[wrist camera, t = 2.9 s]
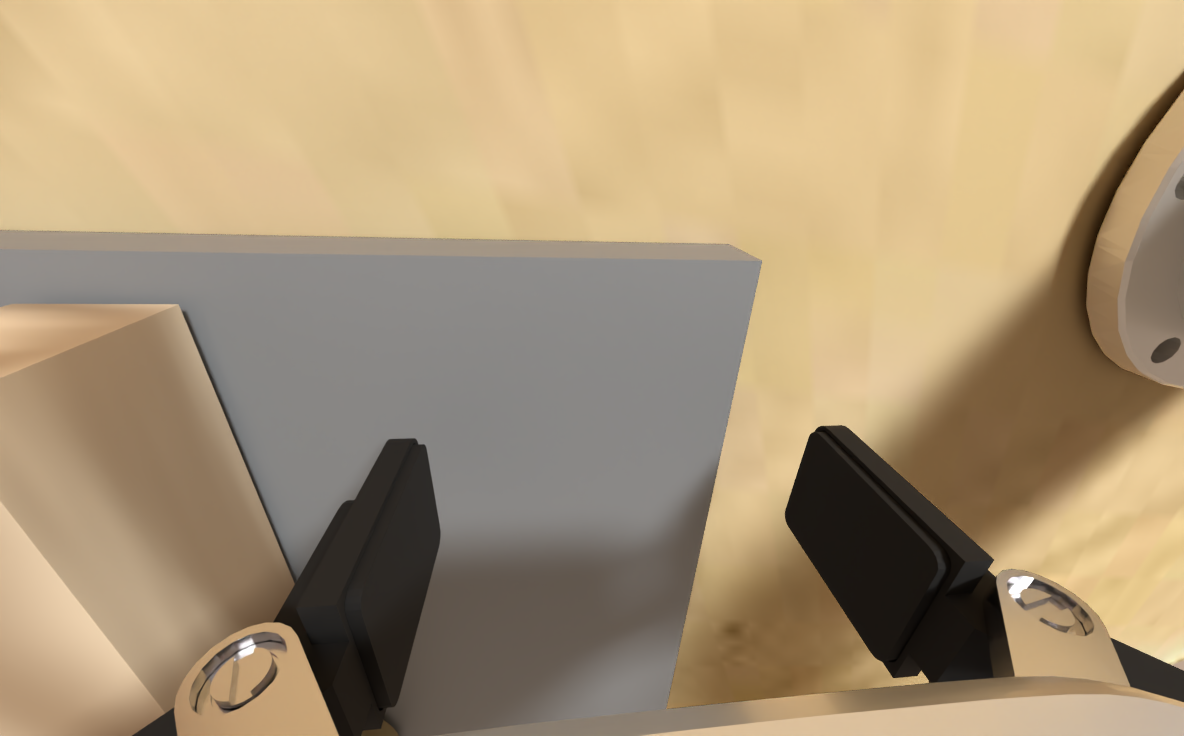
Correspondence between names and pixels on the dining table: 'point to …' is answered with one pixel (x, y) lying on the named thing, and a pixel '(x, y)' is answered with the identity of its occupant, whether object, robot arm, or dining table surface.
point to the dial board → (468, 429)
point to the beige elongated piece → (118, 520)
